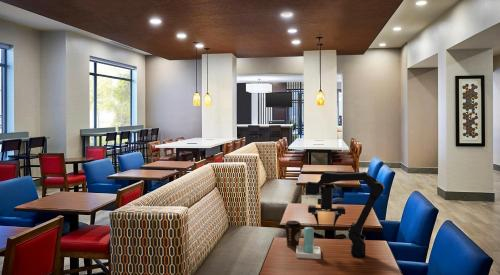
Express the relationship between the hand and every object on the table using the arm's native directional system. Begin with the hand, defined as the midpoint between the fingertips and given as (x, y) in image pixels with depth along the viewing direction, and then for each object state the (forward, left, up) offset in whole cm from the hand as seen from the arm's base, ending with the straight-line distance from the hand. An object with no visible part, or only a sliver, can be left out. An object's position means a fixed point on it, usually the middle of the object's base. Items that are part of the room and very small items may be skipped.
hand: (326, 226), depth 208 cm
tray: (+9, +6, -13) cm, 17 cm away
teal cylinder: (+9, +6, -12) cm, 16 cm away
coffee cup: (+17, -6, -13) cm, 22 cm away
